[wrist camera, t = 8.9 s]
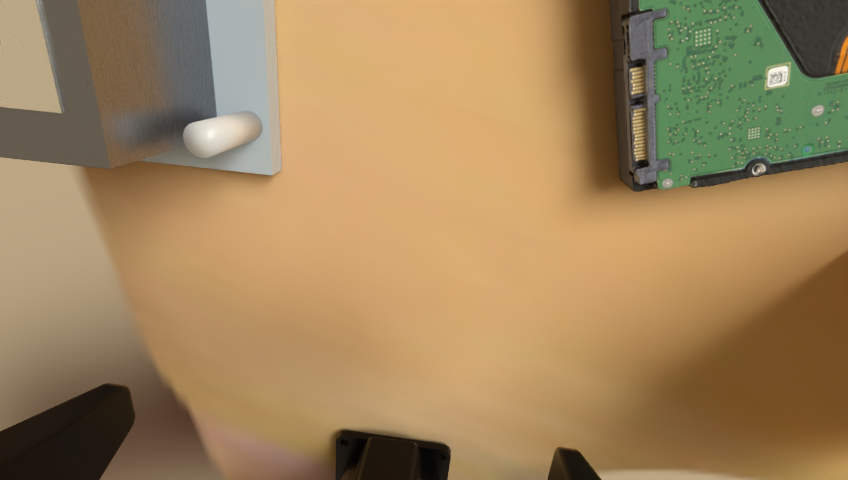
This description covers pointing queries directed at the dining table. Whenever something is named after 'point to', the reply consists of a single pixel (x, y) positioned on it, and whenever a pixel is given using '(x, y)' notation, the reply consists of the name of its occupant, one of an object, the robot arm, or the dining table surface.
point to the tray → (237, 94)
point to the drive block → (102, 79)
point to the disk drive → (728, 89)
